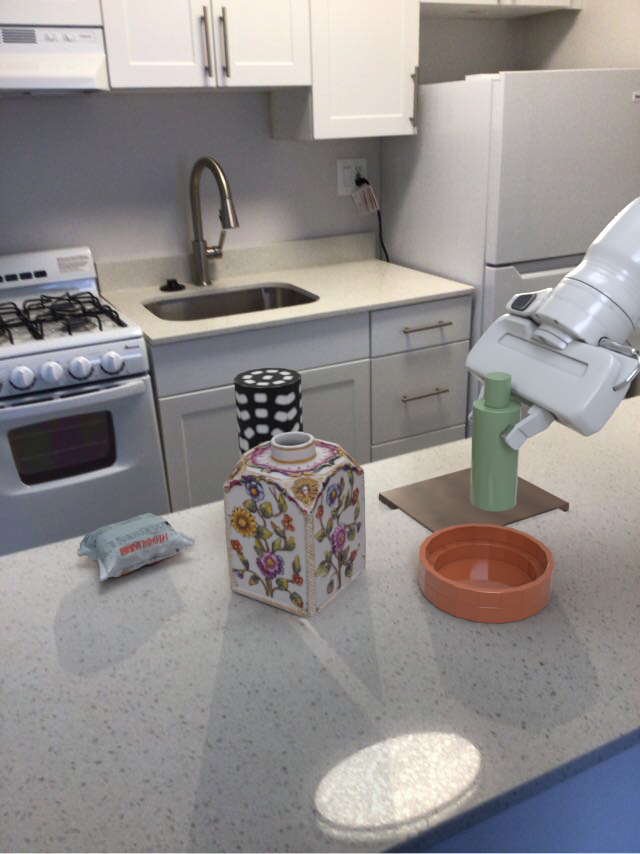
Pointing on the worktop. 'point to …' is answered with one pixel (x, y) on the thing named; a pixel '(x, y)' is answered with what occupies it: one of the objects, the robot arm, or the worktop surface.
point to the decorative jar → (295, 522)
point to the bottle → (494, 446)
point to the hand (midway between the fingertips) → (490, 434)
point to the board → (465, 502)
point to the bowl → (486, 572)
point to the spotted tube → (267, 405)
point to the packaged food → (132, 544)
